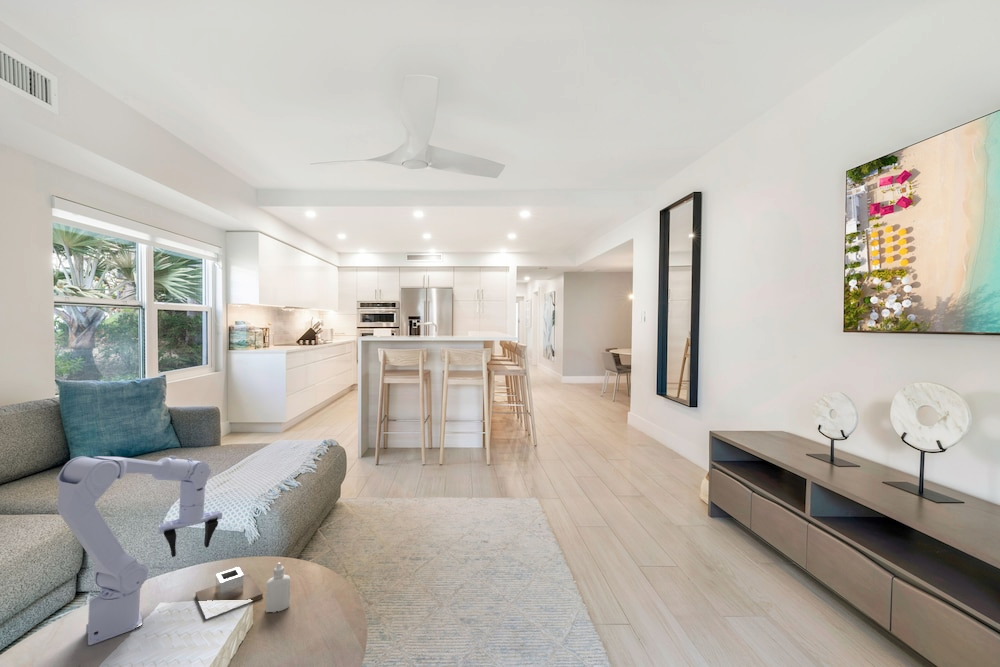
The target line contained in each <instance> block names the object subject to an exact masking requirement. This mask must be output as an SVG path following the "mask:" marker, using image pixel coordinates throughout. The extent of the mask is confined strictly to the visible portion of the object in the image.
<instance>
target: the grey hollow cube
mask: <svg viewBox="0 0 1000 667" xmlns="http://www.w3.org/2000/svg"><path fill="white" fill-rule="evenodd" d="M230 576H233V577H231V578H228V579H226V578H227V577H230ZM244 576H245V575H244V573H243V572H242V570H241V568H240V567H239V566H238V567H237V566H236V567H234V568H230V569H228V570H225V571H222V572H218V573H216V574H215V586H216V587H215V593H216V595H217V597H218V599H219V600H225V599H228V598H231V597H234V596H236V595H239V594H242V593H243V580H244Z"/></svg>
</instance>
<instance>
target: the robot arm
mask: <svg viewBox="0 0 1000 667" xmlns="http://www.w3.org/2000/svg"><path fill="white" fill-rule="evenodd" d="M211 473H212V469H211V468H210V466H209V464H208V463H207V462H205V461H201V460H193V458H190V457H189V458H188V457H186V458H185V459H183V458H182V459H181V458H178V456H176V455H168V457H162V458H160V459H158V460H157V461H154V460H153V461H152V460H146V459H145V460H144V459H137V458H131V457H123V456H106V455H105V456H99V455H98V456H93V457H90V456H85V455H83V456H76V457H73V458H72V459H70V460H68V461H67V462H66V463H65V464H64V465H63V467H62V468H61V470H60V472H59V473H58V475H57V476H56V478H55V480H56V482H57V484H58V496H57V497H58V498H57V509H56V510H57V511H58V512H57V513H58V514H59V515H60V516H61V518H62V520H64V522H65V524H66V526H68V528H69V529H70V531H71V532H72V533H73V535H74V536H75V538H76V539H77V541H78V542H79V544H80V545H81V547H83V549H84V550H85V552H86V553H87V555H88V557H89V558H90V559H91V561H92V562H93V564H94V565H93V566H92V568H91V570H92V572H93V573H94V575H93V576H94V578H93V581H94V584H95V585H96V586H97V587H99V589H100V590H99V592H100V594H99V595H97V596H95V597H93V598H92V597H91V598H90V599H89V600H88V619H87V620H88V621H87V623H86V625H85V627H86V628H85V633H86V634H87V642H88V643H87V644H88V646H93V645H95V644H99V643H100V642H103V641H107V640H108V639H111V638H114V637H117V636H120V635H122V634H125V633H127V632H131V631H133V630H136V629H137V628H136V627H137V626H138V625H139V624H140V623H143V620H142V615H141V611H140V605H141V604H140V601H141V600H140V599H141V588H143V587H142V586H143V584H145V582H146V581H147V578H148V576H149V568H148V567H147V565H145V564H143V563H140V562H138V560H137V559H136V558H135V557H133V556H132V555H130V554H129V553H127V551H125V549H124V548H123V546H122V545H121V543H120V542H119V540H118V538H117V537H116V535H115V534H114V532H113V531H112V529H111V528H110V527H109V524H108V523H107V521H106V520H105V519H104V517H103V514H102V515H101V513H100V511H99V510H98V507H97V506H96V505H95V504H96V502H97V501H99V499H100V498H101V497H102V496H103V495H104V494H105V493H106V492H107V490H109V489H110V487H111V486H112V485H113V484H114V483H115V482H116V480H117V479H119V480H121V479H123V477H124V476H125V475H126V474H142V475H143V474H144V475H145V474H146V475H152V477H153V478H154V479H155V480H158V481H169V482H170V481H173V482H180V488H179V510H178V512H179V514H178V518H175V519H174V520H172V521H171V520H170V521H169V522H165V523H161V524H158V528H157V532H158V534H159V535H162V534H163V535H164V538H165V539H166V541H167V543H168V545H169V548H170V555H171V557H172V558H174V557H176V556H177V553H176V552H177V550H176V549H177V548H176V545H177V544H176V542H177V534H176V530H178V529H179V530H180V529H182V528H186V527H191V526H194V525H195V526H196V525H199V524H202V523H204V540H203V545H204V547H205V548H209V547H210V543H211V539H212V537H213V534H214V532H215V531H216V529H217V527H218V525H219V521H218V520H221V519H223V512H222V510H216V511H208V512H205V493H206V485H207V482H208V478H209V477H210V476H211ZM135 628H136V629H135Z"/></svg>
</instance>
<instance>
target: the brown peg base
mask: <svg viewBox="0 0 1000 667" xmlns="http://www.w3.org/2000/svg"><path fill="white" fill-rule="evenodd" d="M231 577H233V576H230V577H227V578H226V579H228V578H231ZM215 587H216V585H213V586H210V587H208V588H205V589H202V590H199V591H196V592H195V598H196V601H197V600H198V601H207V600H212V601H213V600H219V599H218V597H217V595H216V593H215ZM263 594H264V593H263V592H262V590H261V589H260V587H259V586H258V584H257V583H256V581H255V580H254V579H253V578H252V576H251V574H250V573H248V574H245V575H244V580H243V593H242V594H239V595H236V596H234V597H231V598H228V599H225V600H248V599H251V600H253V602H256V601H258V600H261V599H263ZM260 598H261V599H260ZM198 601H197V602H198Z"/></svg>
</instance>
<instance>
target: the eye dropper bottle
mask: <svg viewBox="0 0 1000 667" xmlns="http://www.w3.org/2000/svg"><path fill="white" fill-rule="evenodd" d="M265 590H266V591H265V613H267V612H273V613H277V612H276V611H278V612H281V611H284V610H286V609H287V608H289V607H290V600H291V599H290V598H291V576H290V575H288V574H285V567H284V566H283V565H282V563H281V562H277V565H276V567H274V569H273V577H271V578H269V579H268V580H267V581H266V588H265Z"/></svg>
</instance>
